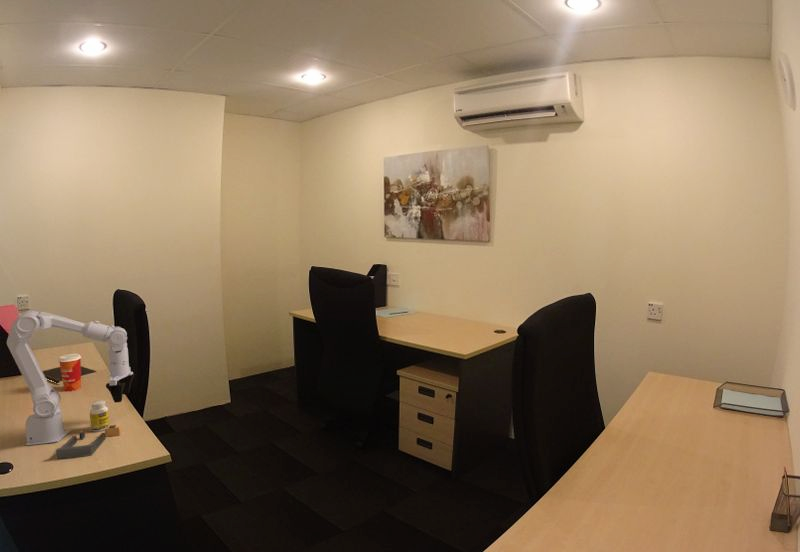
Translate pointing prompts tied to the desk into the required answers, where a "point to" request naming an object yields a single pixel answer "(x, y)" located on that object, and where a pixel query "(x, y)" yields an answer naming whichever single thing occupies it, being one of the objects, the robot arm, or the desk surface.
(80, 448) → the rail clip
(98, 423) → the supplement bottle
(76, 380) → the coffee cup
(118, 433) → the block
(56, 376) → the hardcover book
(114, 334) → the robot arm
